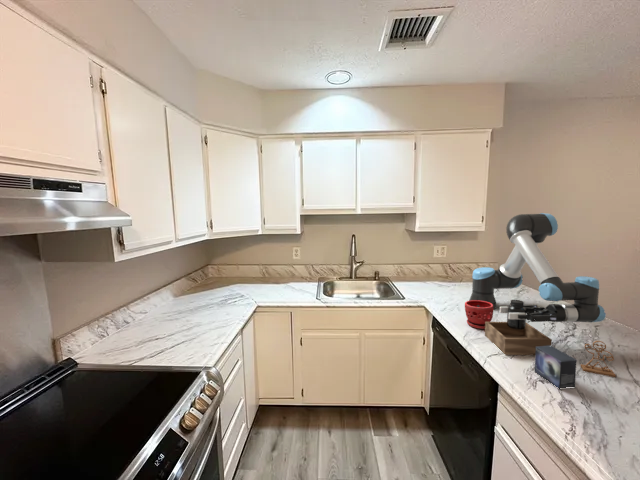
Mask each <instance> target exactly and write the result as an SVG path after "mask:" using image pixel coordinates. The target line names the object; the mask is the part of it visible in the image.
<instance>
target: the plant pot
mask: <svg viewBox="0 0 640 480" xmlns="http://www.w3.org/2000/svg"><path fill="white" fill-rule="evenodd" d="M477 305H479V306H480V307H477ZM473 306H475V307H473ZM482 307H484V308H482ZM464 311H465V316H466V323H467V325H469V326H470V327H472V328H476V329H482V330H485V322H492V320H493V317H494V309H493V304H491V303H489V302H486V301H479V300H471V301H469V300H466V301H465V302H464Z"/></svg>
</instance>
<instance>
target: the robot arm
mask: <svg viewBox="0 0 640 480" xmlns="http://www.w3.org/2000/svg"><path fill="white" fill-rule="evenodd" d="M505 229H506V236H507V238H508V239H509V241H510V242H511V243H512V244H514V247H513V249H512V250H511V253H510V254H509V255H508V258H506V261H505V263H502V264H501V265H500V266H499V267H498V269H494V268H493V267H485V266H484V267H477V268H475V269H474V270H473V271H472V277H471V278H472V285H471V286H472V291H471V295H470V298H469V299H468V301H471V300H479V301H486V302H489V303H491V304H493V310H495V309H497V307H498V303H497V300H496V298H495V290H501V289H502V290H503V289H504V290H505V289H510V290H511V289H512V290H513V289H515V288H516V289H517V288H519V287H520V286H521V285H522V283H523V280H524V279H523V273H522V269H523V267H524V266H525V264H527V266H528V267H529V269H530V270H531V271H532V273H533V275H534V276H535V277H536V279H537V281H538V282H539V284H540V285H539V286H538V292H539V293H538V295H539V296H540V297H541V298H542V299H543V300H545V301H546V302H547V301H548V302H559V301H560V302H561V301H563V302H564V301H573V303H553V304H552V303H550V304H548V305H547V306H546V307H544V306H538V305H537V304H531V305H530V304H524V306H523V307H524V308H525V309H526V313H509V317H508V319H526V321H530V322H531V323H539V322H540V323H543V322H545V323H546V322H552V323H562V322H564V323H568V324H569V323H599V322H603V321H604V320H605V319H606V317H607V315H606V312H605V311H606V310H605V309H604V307H603V306H601V304H599V292H600V281H599V279H597V278H596V277H591V276H582V275H581V276H576V277H575V280H574V282H573V281H572V282H570V281H569V282H563V280H562V279H561V278H560V276H559V275H558V273H557V272H556V270H555V269H554V268H553V266H552V265H551V263H550V262H549V260H548V259H547V257H546V255H544V253H543V252H542V250H541V248H540V247H539V246H538V244H541V243H544V241H545V240H546V239H547V237H551V236H553V235H555V234H556V233H557V232H558V229H559V225H558V220H557V219H556V217H555V216H554V215H553V214H552V213H543V212H541V213H520V214H517V215H514V216H513V217H511V218H510V219H509V221H508V222H507V224H506V227H505ZM473 307H475V306H473ZM477 307H480V306H479V305H477ZM508 307H509V306H499V313H500V314H507V312H508ZM482 308H484V307H482Z"/></svg>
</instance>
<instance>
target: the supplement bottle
mask: <svg viewBox="0 0 640 480" xmlns="http://www.w3.org/2000/svg"><path fill="white" fill-rule="evenodd" d="M524 305H525V302H524V301H523V300H520V299H511V300H510V304H509V306H507V307H508V312H507V313H506V315H507V317H506V318H507V319H506V322H507V326H508V327H510V328H512V329H516V330H524V329H525V326H526V323H527V322H526V321H527V320H526V319H508V317H509V313H526V309H525V308H524V307H523V306H524ZM526 314H527V313H526Z"/></svg>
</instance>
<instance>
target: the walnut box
mask: <svg viewBox="0 0 640 480" xmlns="http://www.w3.org/2000/svg"><path fill="white" fill-rule="evenodd" d="M484 336H485V338H487V340H489V341H490V342H491V343H492V344H493V343H494V344H495V345H496V346H497V347H498V348H499V349H500V350H501V351H502V352H503V353H504V354H506V355H505V356H509V355H510V356H535V351H536V347H538V346H548V345H551V346H552V340H553V339H551V338H550V337H549V336H547V335H546V334H544V333H542V331H540V330H538V329H536V328H535V327H534V326H532V325H530V324H529V323H527V322H526V326H525V329H524V330H516V329H512V328H510V327H508V326H507V321H491V322H485V329H484ZM494 344H493V345H494ZM495 345H494V346H495ZM496 346H495V347H496ZM497 347H496V348H497ZM498 348H497V349H498ZM499 349H498V350H499ZM500 350H499V351H500ZM501 351H500V352H501ZM502 352H501V353H502ZM503 353H502V354H503ZM504 354H503V355H504Z"/></svg>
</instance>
